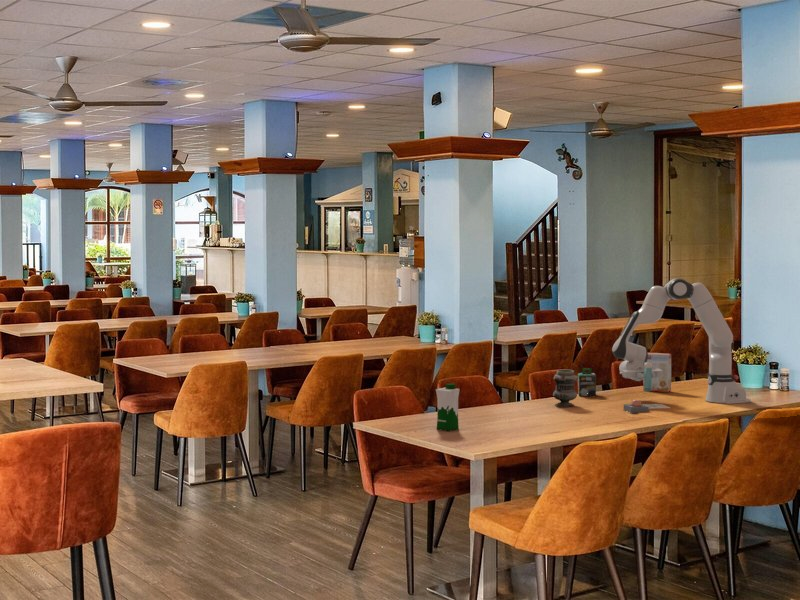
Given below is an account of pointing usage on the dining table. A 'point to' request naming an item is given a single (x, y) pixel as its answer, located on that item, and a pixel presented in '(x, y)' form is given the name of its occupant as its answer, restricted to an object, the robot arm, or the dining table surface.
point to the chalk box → (586, 383)
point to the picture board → (656, 406)
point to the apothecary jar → (565, 387)
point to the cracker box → (664, 364)
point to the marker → (648, 376)
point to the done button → (636, 403)
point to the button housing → (636, 408)
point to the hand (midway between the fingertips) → (648, 375)
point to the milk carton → (447, 407)
